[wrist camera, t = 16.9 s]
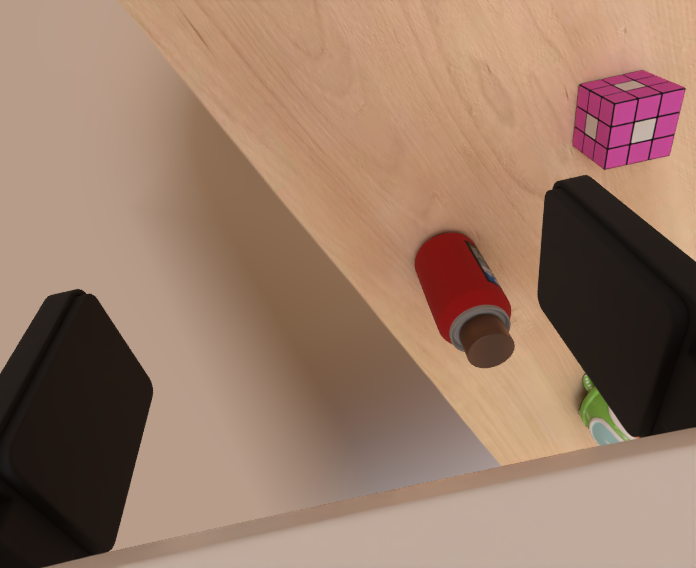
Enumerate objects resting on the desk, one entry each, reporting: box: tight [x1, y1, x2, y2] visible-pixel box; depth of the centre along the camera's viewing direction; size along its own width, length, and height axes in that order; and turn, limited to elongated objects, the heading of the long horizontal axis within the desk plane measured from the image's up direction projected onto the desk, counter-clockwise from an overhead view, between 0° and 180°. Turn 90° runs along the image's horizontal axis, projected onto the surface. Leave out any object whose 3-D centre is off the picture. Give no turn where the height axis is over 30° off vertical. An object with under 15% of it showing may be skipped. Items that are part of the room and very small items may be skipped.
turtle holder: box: [578, 374, 639, 446], centre depth 65 cm, size 12×18×12 cm
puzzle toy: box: [573, 70, 685, 170], centre depth 42 cm, size 6×6×6 cm
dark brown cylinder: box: [459, 314, 515, 368], centre depth 41 cm, size 4×4×2 cm
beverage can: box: [415, 233, 511, 352], centre depth 47 cm, size 7×7×12 cm
